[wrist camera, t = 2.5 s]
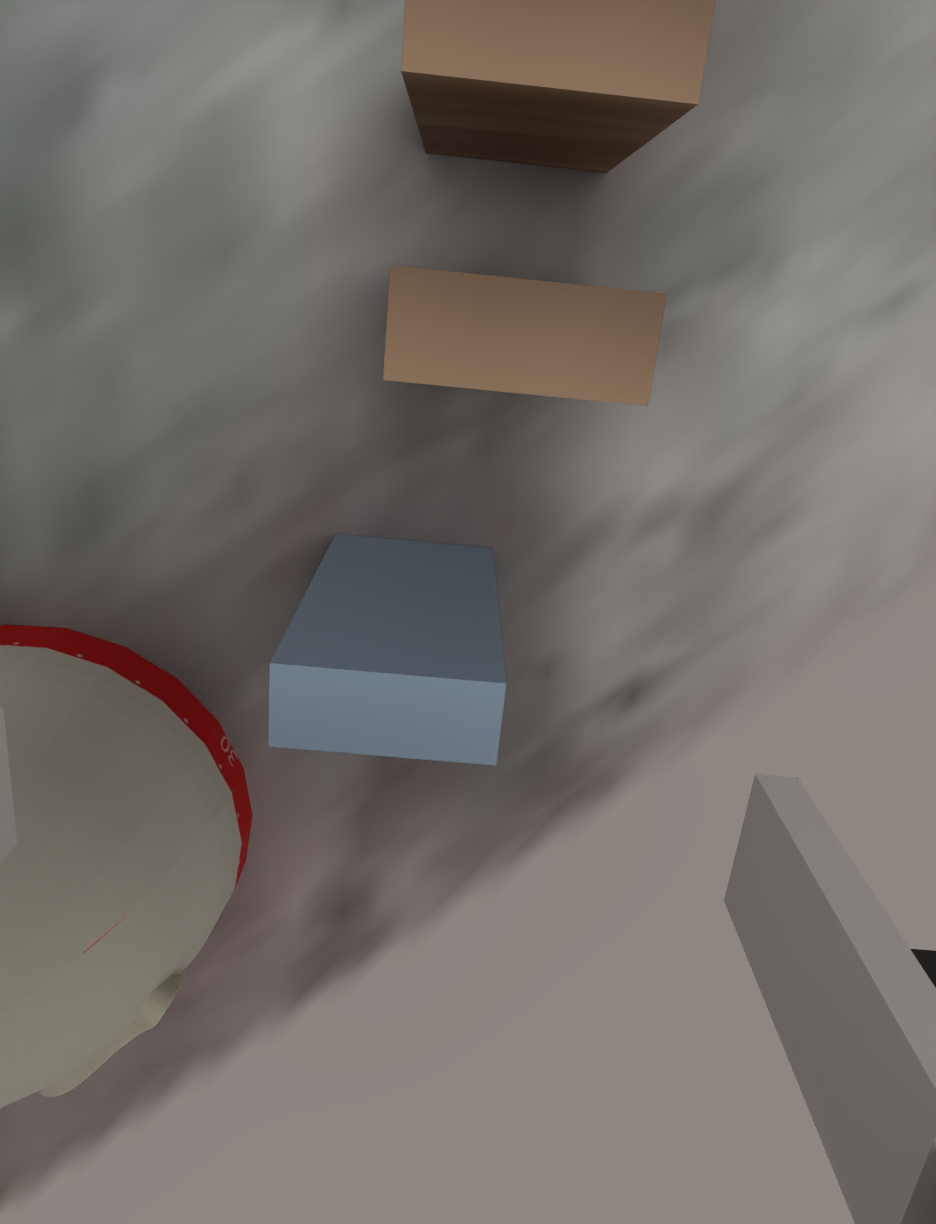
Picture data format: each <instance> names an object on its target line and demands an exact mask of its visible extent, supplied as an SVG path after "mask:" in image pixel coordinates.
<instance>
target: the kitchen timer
mask: <svg viewBox="0 0 936 1224" xmlns="http://www.w3.org/2000/svg"><path fill="white" fill-rule="evenodd" d="M0 708H2V709H3V711H4V721H5V730H6V739H7V749H8V758H9V768H10V777H11V786H12V796H13V805H14V815H15V824H16V834H17V844H16V845H15V846H14V847H13V849H12V850H11V851H10V852H9V854H8V855H7V856H6V857H5V859H4V860H3V861H2V862H1V864H0V1108H2V1107H5V1106H7V1105H9V1104H11V1103H13V1102H16V1101H18V1100H20V1099H22V1098H24V1097H27V1096H29V1095H31V1094H33V1093H35V1092H37V1091H38V1093H39V1094H40V1095H42V1096H45V1097H56V1096H60V1095H62V1094H64V1093H67V1092H68V1091H70V1090H72V1089H73V1088H75V1087H77V1086H78V1085H79V1084H81V1083H82V1082H83V1081H85V1080H86V1079H87V1078H88V1077H89V1076H90V1075H91V1074H93V1073H94V1072H95V1071H96V1070H97V1069H98V1068H99V1067H100V1066H101V1065H102V1064H103V1063H105V1062H106V1061H107V1060H108V1059H109V1058H110V1057H111V1056H112V1055H113V1054H115V1053H116V1052H117V1051H118V1050H119V1049H120V1048H122V1047H123V1046H124V1045H126V1044H127V1043H128V1042H130V1041H131V1040H132V1039H134V1038H135V1037H137V1036H138V1035H139V1034H141V1033H143V1032H144V1031H146V1030H148V1029H152V1028H154V1027H155V1026H156V1025H157V1023H158V1022H159V1021H160V1019H161V1018H162V1016H163V1015H164V1013H165V1012H166V1010H167V1009H168V1007H169V1005H170V1004H171V1002H172V1001H173V999H174V998H175V996H176V995H177V993H178V991H179V990H180V988H181V986H182V984H183V979H182V978H181V977H180V976H179V975H180V974H181V973H182V972H183V971H184V970H185V969H186V968H187V966H188V965H189V964H190V963H191V962H192V960H193V959H194V958H195V957H196V956H197V954H198V953H199V951H200V950H201V948H202V947H203V945H204V944H205V942H206V941H207V939H208V937H209V935H210V934H211V932H212V930H213V928H214V926H215V924H216V923H217V921H218V919H219V917H220V915H221V913H222V912H223V910H224V908H225V906H226V904H227V902H228V901H229V899H230V897H231V895H232V893H233V891H234V890H235V887H236V885H237V882H238V879H239V877H240V874H241V871H242V869H243V866H244V863H245V861H246V855H247V848H248V841H249V834H250V828H251V821H252V811H251V806H250V801H249V795H248V790H247V785H246V780H245V774H244V769H243V766H242V765H241V763H240V761H239V759H238V757H237V755H236V753H235V752H234V750H233V748H232V746H231V744H230V742H229V740H228V739H227V737H226V735H225V733H224V731H223V729H222V727H221V726H220V724H219V722H218V720H217V719H216V718H215V717H214V716H213V715H212V714H211V713H210V712H209V711H208V710H207V709H206V708H205V707H204V706H203V705H202V704H201V703H200V702H199V701H198V700H197V699H196V698H195V697H194V696H193V694H192V693H191V692H190V691H189V690H188V689H187V688H186V687H185V686H184V685H183V684H182V683H181V682H180V681H179V680H178V679H176V678H175V677H173V676H172V675H170V674H168V673H167V672H165V671H164V670H162V669H160V668H159V667H157V666H155V665H154V664H152V663H151V662H149V661H147V660H146V659H144V658H143V657H141V656H139V655H138V654H136V653H134V652H133V651H131V650H130V649H128V648H126V647H123V646H120V645H117V644H114V643H111V642H108V641H105V640H102V639H99V638H95V637H92V636H89V635H86V634H83V633H80V632H77V631H74V630H71V629H67V628H54V627H38V626H21V625H2V626H0Z"/></svg>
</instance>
